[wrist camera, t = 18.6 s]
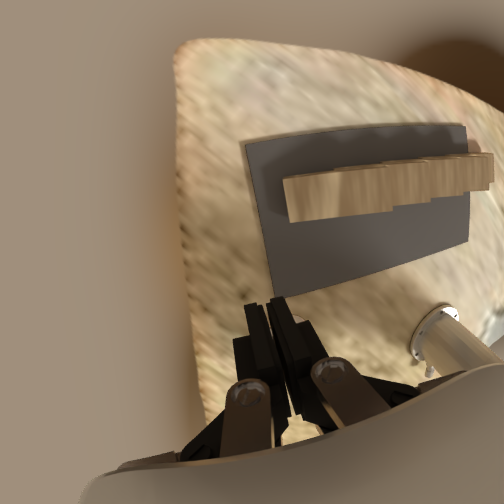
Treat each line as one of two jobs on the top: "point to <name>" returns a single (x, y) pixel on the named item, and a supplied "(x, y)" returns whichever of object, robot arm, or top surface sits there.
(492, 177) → the end domino
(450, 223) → the mat
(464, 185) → the domino
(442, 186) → the domino
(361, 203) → the domino
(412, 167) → the domino
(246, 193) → the top surface
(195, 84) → the top surface
